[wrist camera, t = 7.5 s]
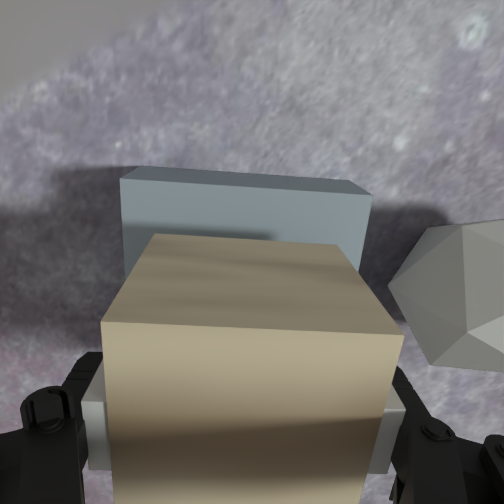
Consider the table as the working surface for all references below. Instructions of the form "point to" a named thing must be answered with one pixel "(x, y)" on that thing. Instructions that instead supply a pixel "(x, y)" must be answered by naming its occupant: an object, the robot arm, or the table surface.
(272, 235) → the plinth
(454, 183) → the table surface
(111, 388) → the maple block
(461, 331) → the die
